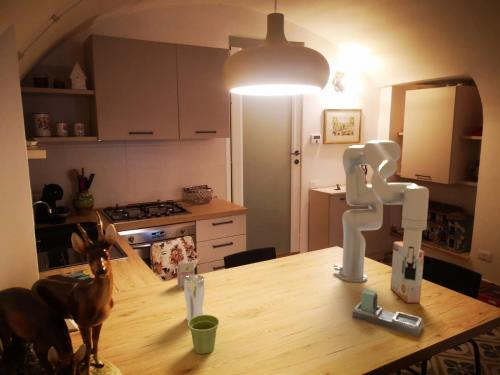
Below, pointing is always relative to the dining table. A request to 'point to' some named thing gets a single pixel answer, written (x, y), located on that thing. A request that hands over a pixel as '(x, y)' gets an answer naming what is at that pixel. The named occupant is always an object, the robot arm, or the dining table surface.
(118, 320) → the dining table surface
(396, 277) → the cracker box
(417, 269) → the pale teal block
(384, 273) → the dining table surface
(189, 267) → the tea bag
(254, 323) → the dining table surface
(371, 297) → the teal rectangular block
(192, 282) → the beer glass
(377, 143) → the robot arm
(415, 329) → the grey compartment tray
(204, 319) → the plant pot
